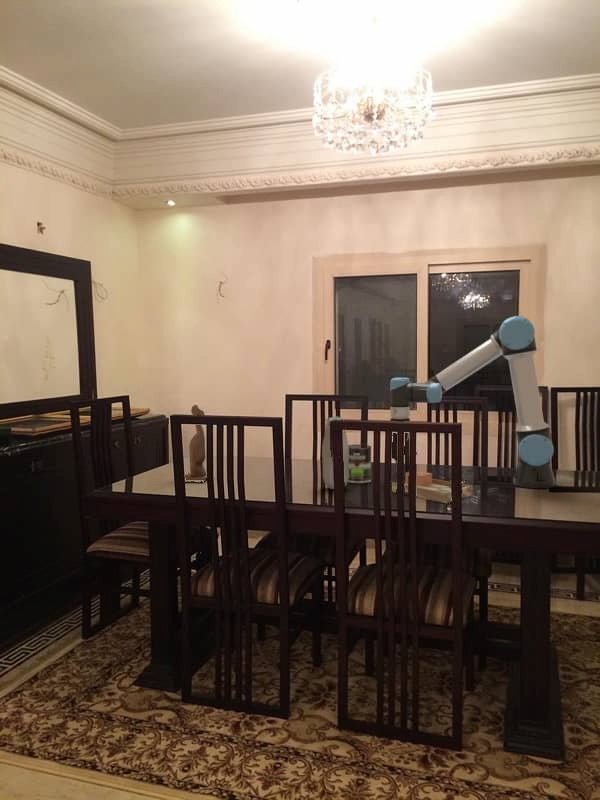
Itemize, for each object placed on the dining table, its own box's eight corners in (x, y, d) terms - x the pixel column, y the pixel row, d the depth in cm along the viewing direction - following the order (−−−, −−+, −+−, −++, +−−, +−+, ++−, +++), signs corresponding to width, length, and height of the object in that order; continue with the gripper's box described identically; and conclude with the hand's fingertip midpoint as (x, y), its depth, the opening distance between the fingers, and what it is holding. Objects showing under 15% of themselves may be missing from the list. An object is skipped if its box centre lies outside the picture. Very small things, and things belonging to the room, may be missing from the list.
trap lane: (415, 484, 247) (415, 475, 247) (472, 495, 227) (472, 485, 227) (388, 491, 236) (388, 482, 236) (446, 503, 217) (446, 493, 217)
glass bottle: (348, 492, 236) (347, 418, 234) (321, 491, 238) (320, 418, 235) (350, 486, 246) (349, 415, 243) (324, 485, 248) (323, 415, 245)
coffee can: (369, 483, 250) (369, 448, 249) (344, 482, 252) (343, 448, 251) (373, 478, 260) (372, 444, 259) (348, 477, 262) (348, 444, 261)
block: (415, 480, 244) (415, 470, 244) (432, 483, 238) (432, 473, 238) (405, 483, 240) (405, 472, 240) (422, 486, 234) (422, 475, 234)
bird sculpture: (206, 484, 256) (206, 406, 253) (179, 483, 258) (179, 405, 255) (215, 478, 267) (215, 404, 264) (188, 477, 269) (188, 403, 266)
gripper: (381, 417, 246) (381, 476, 248) (407, 419, 236) (407, 481, 239) (393, 415, 251) (394, 473, 253) (419, 417, 241) (419, 478, 243)
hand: (400, 477), depth 246 cm, fingers closed
